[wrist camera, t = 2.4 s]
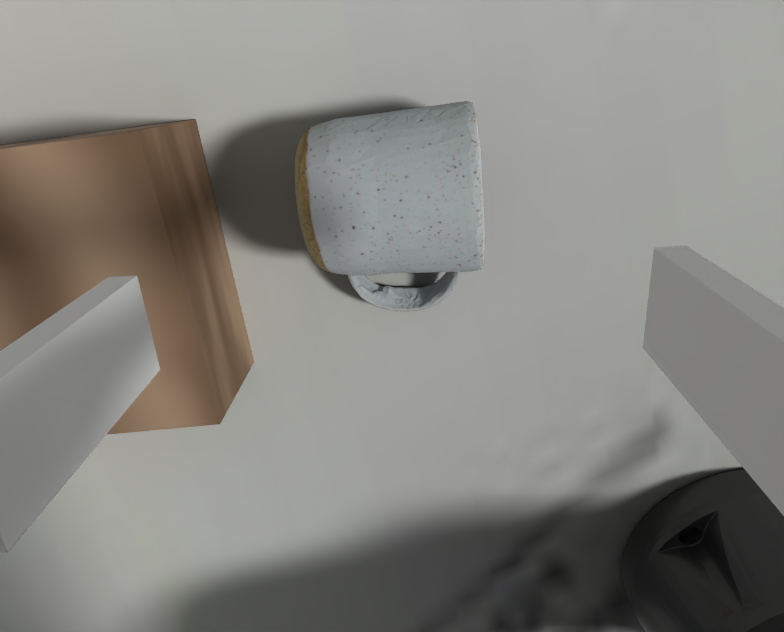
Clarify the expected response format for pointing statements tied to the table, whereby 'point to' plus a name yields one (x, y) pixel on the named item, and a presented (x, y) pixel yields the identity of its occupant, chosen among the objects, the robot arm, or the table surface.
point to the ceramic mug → (394, 199)
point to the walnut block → (128, 257)
